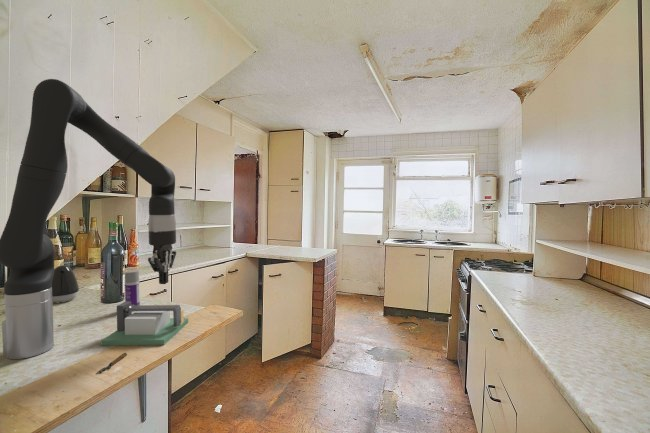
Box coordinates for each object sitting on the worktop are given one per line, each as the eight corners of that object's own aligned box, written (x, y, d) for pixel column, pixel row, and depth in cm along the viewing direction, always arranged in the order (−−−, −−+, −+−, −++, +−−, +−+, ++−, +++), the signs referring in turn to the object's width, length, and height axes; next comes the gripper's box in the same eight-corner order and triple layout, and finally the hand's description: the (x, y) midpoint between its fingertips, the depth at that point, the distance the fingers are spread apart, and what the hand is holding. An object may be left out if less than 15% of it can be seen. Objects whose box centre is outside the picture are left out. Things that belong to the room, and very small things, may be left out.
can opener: (123, 356, 79) (123, 352, 79) (131, 356, 79) (131, 352, 79) (92, 375, 71) (92, 371, 70) (101, 376, 70) (100, 372, 70)
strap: (123, 327, 91) (122, 308, 91) (130, 322, 94) (130, 304, 94) (176, 326, 91) (175, 307, 91) (181, 322, 95) (181, 303, 95)
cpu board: (101, 345, 85) (100, 313, 84) (135, 322, 101) (135, 295, 100) (164, 344, 85) (163, 313, 85) (188, 322, 101) (187, 295, 101)
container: (123, 312, 110) (122, 273, 110) (128, 307, 115) (127, 270, 114) (137, 310, 112) (136, 272, 111) (141, 306, 116) (140, 269, 116)
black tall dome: (45, 307, 115) (44, 269, 114) (47, 300, 123) (45, 264, 122) (79, 301, 122) (78, 265, 121) (78, 295, 130) (77, 261, 129)
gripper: (161, 227, 98) (162, 278, 99) (137, 231, 85) (139, 289, 86) (184, 227, 98) (185, 278, 99) (163, 231, 85) (164, 289, 86)
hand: (163, 283), depth 92 cm, fingers closed
